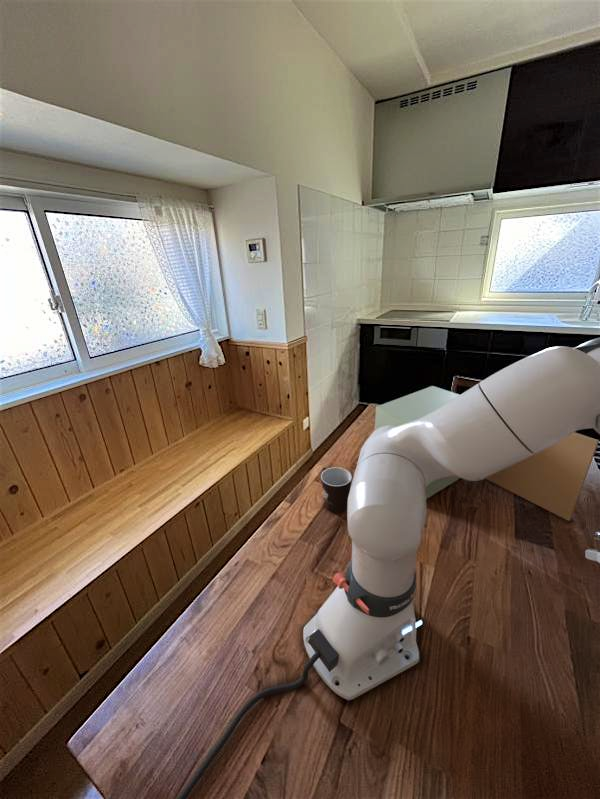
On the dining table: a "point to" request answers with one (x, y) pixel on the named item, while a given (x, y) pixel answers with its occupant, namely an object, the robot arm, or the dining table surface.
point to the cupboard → (412, 410)
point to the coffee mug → (336, 488)
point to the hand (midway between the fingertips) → (590, 544)
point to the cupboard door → (551, 474)
